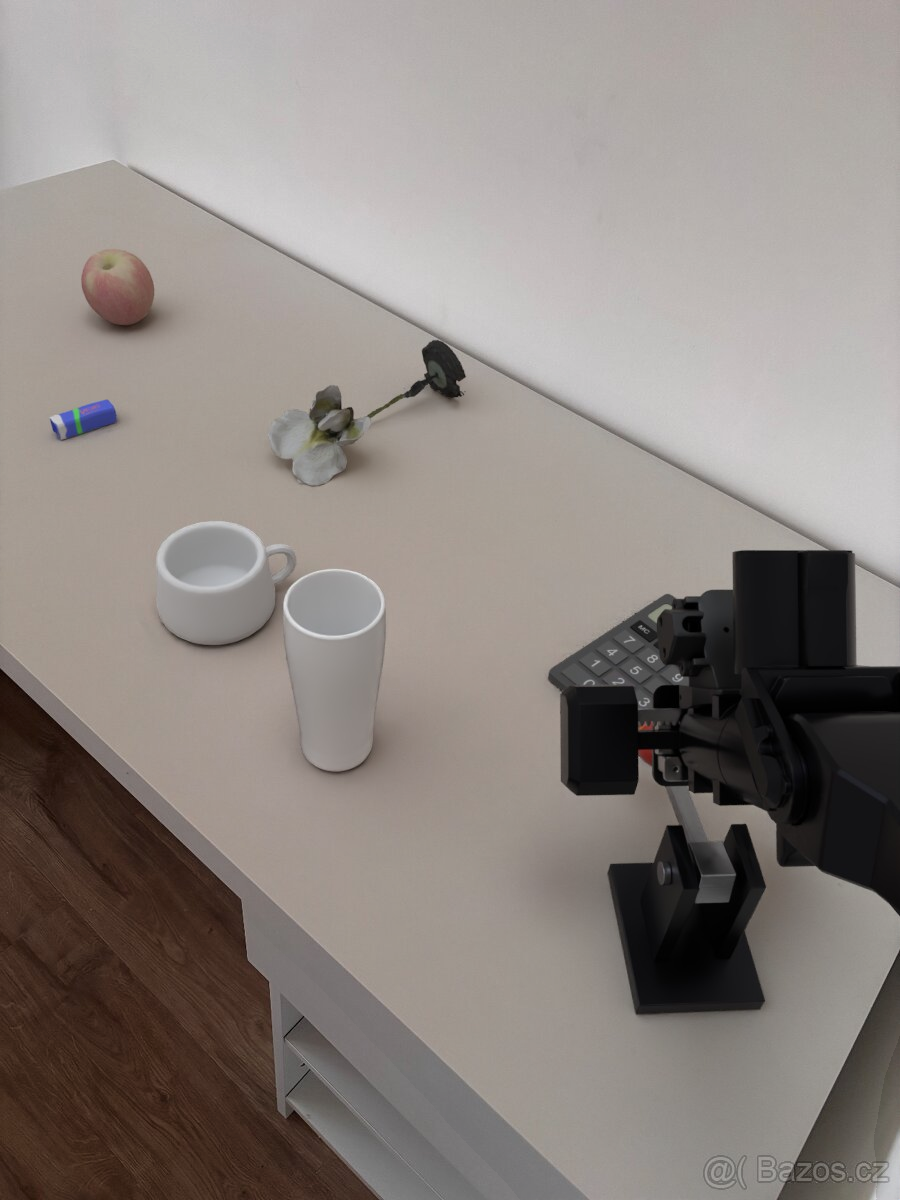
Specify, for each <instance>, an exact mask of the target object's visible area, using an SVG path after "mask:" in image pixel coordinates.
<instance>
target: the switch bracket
mask: <svg viewBox="0 0 900 1200" xmlns="http://www.w3.org/2000/svg"><path fill="white" fill-rule="evenodd" d="M723 843H724V845H725V848H726V850H727V852H728V855H729V857H730V860H731V862H732V864H733V867H734V869H735V872H736V874H737V876H736V879H735V883H734V887H733V891H732V894H731V898H730V902H728V903H697V904H695V903H694V901H695V899H696V897H697V894H698V892H699V890H700V888H699V885H698V881H697V877H696V873H695V870H694V866H693V862H692V858H691V855H690V851H689V847H688V843H687V840H686V836H685V832H684V829H683V825H679V824H668V825H666V827H665V829H664V832H663V835H662V838H661V840H660V844H659V846H658V850H657V852H656V855H655V857H654V860H653V862H624V863H623V862H622V863H621V862H619V863H610V864H609V867H608V870H607V877H608V882H609V888H610V893H611V898H612V903H613V908H614V912H615V918H616V923H617V928H618V933H619V937H620V942H621V947H622V952H623V958H624V962H625V968H626V972H627V978H628V983H629V987H630V992H631V998H632V1002H633V1008H634V1013H635V1015H651V1014H674V1013H676V1014H678V1013H702V1012H703V1013H705V1012H725V1011H726V1012H727V1011H753V1010H761V1009H762V1007H763V1006H764V1004H765V1002H766V999H765V995H764V992H763V987H762V985H761V982H760V979H759V975H758V971H757V968H756V965H755V961H754V957H753V955H752V950H751V947H750V943H749V940H748V938H747V934H746V931H745V930H746V928H747V927H748V925H749V923H750V921H751V919H752V916H753V915H754V913H755V911H756V909H757V907H758V905H759V903H760V902H761V899H762V897H763V895H764V893H765V891H766V890H767V884H766V881H765V878H764V874H763V872H762V868H761V865H760V862H759V859H758V856H757V853H756V850H755V847H754V843H753V840H752V836H751V834H750V831H749V828H748V825H747V823H731V824H730V826H729V829H728V830H727V833H726V836H725V837H724V840H723Z"/></svg>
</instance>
